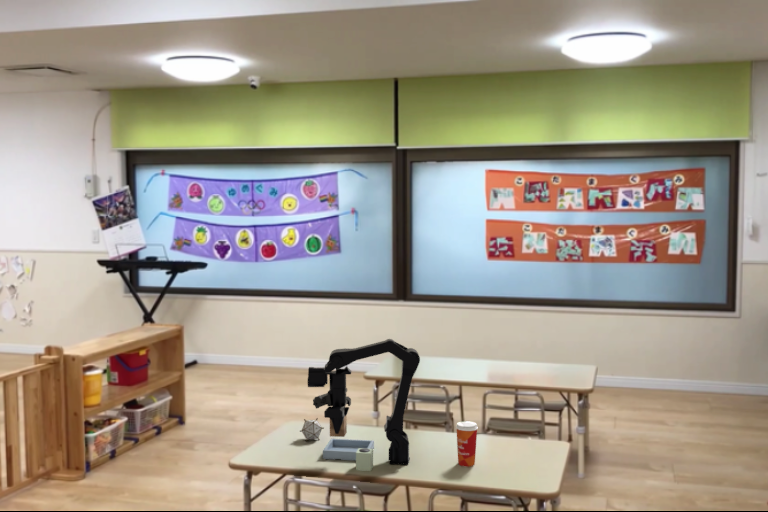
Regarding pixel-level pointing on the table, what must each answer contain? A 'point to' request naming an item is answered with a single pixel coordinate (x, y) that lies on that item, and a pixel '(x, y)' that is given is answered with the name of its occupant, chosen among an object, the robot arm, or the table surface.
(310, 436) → the game die
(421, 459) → the table surface
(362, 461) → the sage block
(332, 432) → the walnut block
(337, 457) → the tray
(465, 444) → the paper cup
